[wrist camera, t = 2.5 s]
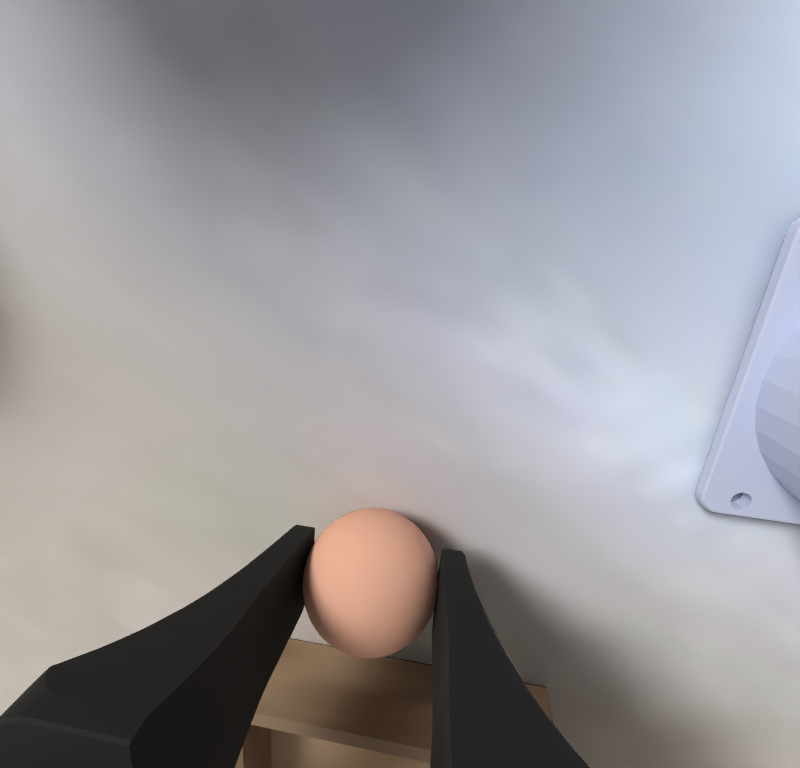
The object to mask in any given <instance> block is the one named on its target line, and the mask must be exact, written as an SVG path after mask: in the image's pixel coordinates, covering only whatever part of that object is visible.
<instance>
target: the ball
mask: <svg viewBox="0 0 800 768" xmlns="http://www.w3.org/2000/svg"><path fill="white" fill-rule="evenodd" d="M438 581H439V574H438V566H437V562H436V558H435V555H434V552H433V550H432V548H431V545H430V543H429V542H428V540H427V538H426V537H425V536H424V534H423V533H422V532H421V530H420V529H419V528H418V527H417V526H416V525H415V524H414V523H412V522H411V521H410V520H408V519H407V518H405V517H404V516H402V515H400V514H398V513H396V512H393V511H390V510H385V509H379V508H366V509H360V510H356V511H353V512H350V513H348V514H345V515H343V516H341V517H340V518H338V519H337V520H335V521H334V522H333V523H331V524H330V525H329V526H328V527H327V528H326V529H325V530H324V531H323V532H322V533H321V534H320V535H319V537H318V538H317V540H316V541H315V543H314V545H313V546H312V548H311V551H310V553H309V555H308V558H307V561H306V565H305V569H304V574H303V596H304V602H305V607H306V610H307V613H308V615H309V618H310V620H311V622H312V624H313V626H314V627H315V629H316V630H317V632H318V633H319V634H320V636H321V637H322V638H323V639H324V640H325V641H326V642H327V643H329V644H330V645H331V646H332V647H334V648H335V649H337V650H339V651H340V652H342V653H345V654H347V655H350V656H353V657H358V658H379V657H384V656H388V655H391V654H393V653H395V652H397V651H399V650H401V649H403V648H404V647H406V646H407V645H408V644H410V643H411V642H412V641H413V640H414V639H416V637H417V636H418V635H419V634H420V633H421V632H422V630H423V629H424V628H425V626H426V625H427V623H428V621H429V619H430V617H431V615H432V613H433V610H434V608H435V605H436V600H437V592H438Z"/></svg>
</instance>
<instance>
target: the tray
mask: <svg viewBox="0 0 800 768" xmlns="http://www.w3.org/2000/svg"><path fill="white" fill-rule="evenodd" d="M524 684H525V683H524ZM525 685H526V687H527V688H528V690H529V691H530V693H531V694H532V695H533V697H534V698H535V700H536V701H537V702H538V704H539V705H540V707H541V708H542V709H543V711H544V712H545V714H546V715H547V716H548V718H549V719H550V721H551V722H552V723H553V719H552V714H551V709H550V704H549V699H548V694H547V689H546V687H540V686H535V685H530V684H525ZM553 725H554V724H553ZM431 744H432V666H430V665H425V664H420V663H415V662H409V661H404V660H399V659H394V658H388V657H379V658H358V657H353V656H350V655H347V654H345V653H342V652H340V651H339V650H337V649H335V648H334V647H331V646H326V645H320V644H315V643H310V642H305V641H299V640H294V639H289V640H288V642H287V645H286V647H285V649H284V651H283V653H282V655H281V657H280V659H279V661H278V663H277V665H276V667H275V669H274V671H273V673H272V675H271V677H270V679H269V682H268V684H267V686H266V688H265V690H264V693H263V695H262V697H261V699H260V702H259V704H258V707H257V710H256V712H255V715H254V718H253V720H252V723H251V725H250V728H249V731H248V733H247V736H246V738H245V741H244V744H243V747H242V749H241V752H240V755H239V757H238V760H237V763H236V766H235V768H430V759H431Z"/></svg>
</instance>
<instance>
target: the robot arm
mask: <svg viewBox="0 0 800 768" xmlns="http://www.w3.org/2000/svg"><path fill="white" fill-rule="evenodd" d="M738 493H742V496H741V497H740V498H739V499H737V500H735V501H731V499H732V497H733V496H734V495H736V494H738ZM696 497H697V499H698V501H699V502H700V503H701V504H702V505H703V506H704V507H705V508H706V509H707V510H709V511H712V512H715V513H722V514H729V515H736V516H743V517H750V518H757V519H764V520H771V521H778V522H785V523H792V524H799V525H800V217H798V218H797V219H796V220H795V221H794V222H793V223H792V224H791V225H790V227H789V229H788V231H787V233H786V235H785V238H784V241H783V244H782V247H781V250H780V253H779V255H778V258H777V261H776V264H775V267H774V270H773V272H772V275H771V278H770V281H769V284H768V287H767V289H766V292H765V295H764V298H763V301H762V304H761V307H760V309H759V312H758V315H757V318H756V321H755V324H754V326H753V329H752V332H751V335H750V338H749V341H748V344H747V346H746V349H745V352H744V355H743V358H742V361H741V363H740V366H739V369H738V372H737V375H736V378H735V380H734V383H733V386H732V389H731V392H730V395H729V398H728V400H727V403H726V406H725V409H724V412H723V415H722V417H721V420H720V423H719V426H718V429H717V432H716V435H715V437H714V440H713V443H712V446H711V449H710V452H709V454H708V457H707V460H706V463H705V466H704V469H703V472H702V474H701V477H700V480H699V483H698V486H697V489H696ZM314 534H315V528H313V527H307V526H301V525H295V526H294V527H293V528H291V529H290V530H289V531H288V532H287V533H285V534H284V535H283V536H282V537H281V538H280V539H278V540H277V541H276V542H275V543H274V544H272V545H271V546H270V547H269V548H268V549H266V550H265V551H264V552H263V553H262V554H260V555H259V556H258V557H257V558H255V559H254V560H253V561H252V562H250V563H249V564H248V565H247V566H245V567H244V568H243V569H241V570H240V571H239V572H237V573H236V574H234V575H233V576H232V577H230V578H229V579H228V580H226V581H225V582H223V583H222V584H221V585H219V586H218V587H216V588H215V589H213V590H212V591H210V592H209V593H207V594H206V595H204V596H202V597H201V598H199V599H198V600H196V601H194V602H193V603H191V604H189V605H188V606H186V607H184V608H182V609H180V610H179V611H177V612H175V613H173V614H171V615H169V616H167V617H165V618H164V619H162V620H160V621H158V622H156V623H154V624H152V625H150V626H148V627H146V628H144V629H142V630H140V631H138V632H136V633H133V634H131V635H129V636H127V637H125V638H122V639H120V640H118V641H115V642H113V643H111V644H108V645H106V646H104V647H101V648H99V649H96V650H94V651H91V652H88V653H86V654H83V655H80V656H78V657H75V658H72V659H70V660H67V661H64V662H62V663H59V664H56V665H53V666H51V667H49V668H48V669H47V670H46V671H45V672H44V673H43V674H42V675H41V676H40V677H39V678H38V679H37V680H36V681H35V682H34V683H33V684H32V685H31V686H30V687H29V688H28V689H27V690H26V691H25V692H24V693H23V694H22V695H21V696H20V697H19V698H18V699H17V700H16V701H15V702H14V703H13V704H12V705H11V706H10V707H9V708H8V709H7V710H6V711H5V712H4V713H3V714H2V715H1V716H0V768H235V766H236V763H237V760H238V757H239V755H240V752H241V749H242V747H243V744H244V741H245V738H246V736H247V733H248V731H249V728H250V725H251V723H252V720H253V718H254V715H255V712H256V710H257V707H258V704H259V702H260V699H261V697H262V695H263V693H264V690H265V688H266V686H267V684H268V682H269V679H270V677H271V675H272V673H273V671H274V669H275V667H276V665H277V663H278V661H279V659H280V657H281V655H282V653H283V651H284V649H285V647H286V645H287V642H288V640H289V638H290V636H291V634H292V632H293V630H294V628H295V626H296V624H297V622H298V620H299V617H300V615H301V613H302V611H303V608H304V605H305V602H304V596H303V574H304V569H305V565H306V561H307V558H308V555H309V553H310V551H311V548H312V546H313V545H314ZM438 574H439V581H438V592H437V600H436V605H435V608H434V614H433V626H432V744H431V759H430V768H590V767H589V766H588V765H587V764H586V763H585V762H584V761H583V760H582V758H581V757H580V756H579V755H578V754H577V753H576V752H575V751H574V750H573V748H572V747H571V746H570V745H569V743H568V742H567V741H566V740H565V738H564V737H563V736H562V735H561V733H560V732H559V731H558V730H557V728H556V727H555V726H554V725H553V723H552V722H551V721H550V719H549V718H548V716H547V715H546V714H545V712H544V711H543V709H542V708H541V707H540V705H539V704H538V702H537V701H536V700H535V698H534V697H533V695H532V694H531V693H530V691H529V690H528V688H527V687H526V685H525V684H524V682H523V681H522V679H521V678H520V676H519V674H518V673H517V671H516V670H515V668H514V666H513V665H512V663H511V661H510V660H509V658H508V656H507V655H506V653H505V651H504V649H503V647H502V646H501V644H500V642H499V640H498V638H497V636H496V634H495V632H494V630H493V628H492V626H491V624H490V622H489V620H488V618H487V616H486V613H485V611H484V609H483V606H482V604H481V602H480V599H479V597H478V595H477V592H476V590H475V587H474V584H473V581H472V579H471V576H470V573H469V569H468V566H467V562H466V558H465V555H464V554H463V552H462V551H456V550H449V549H443V548H442V552H441V559H440V566H439V573H438Z"/></svg>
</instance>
